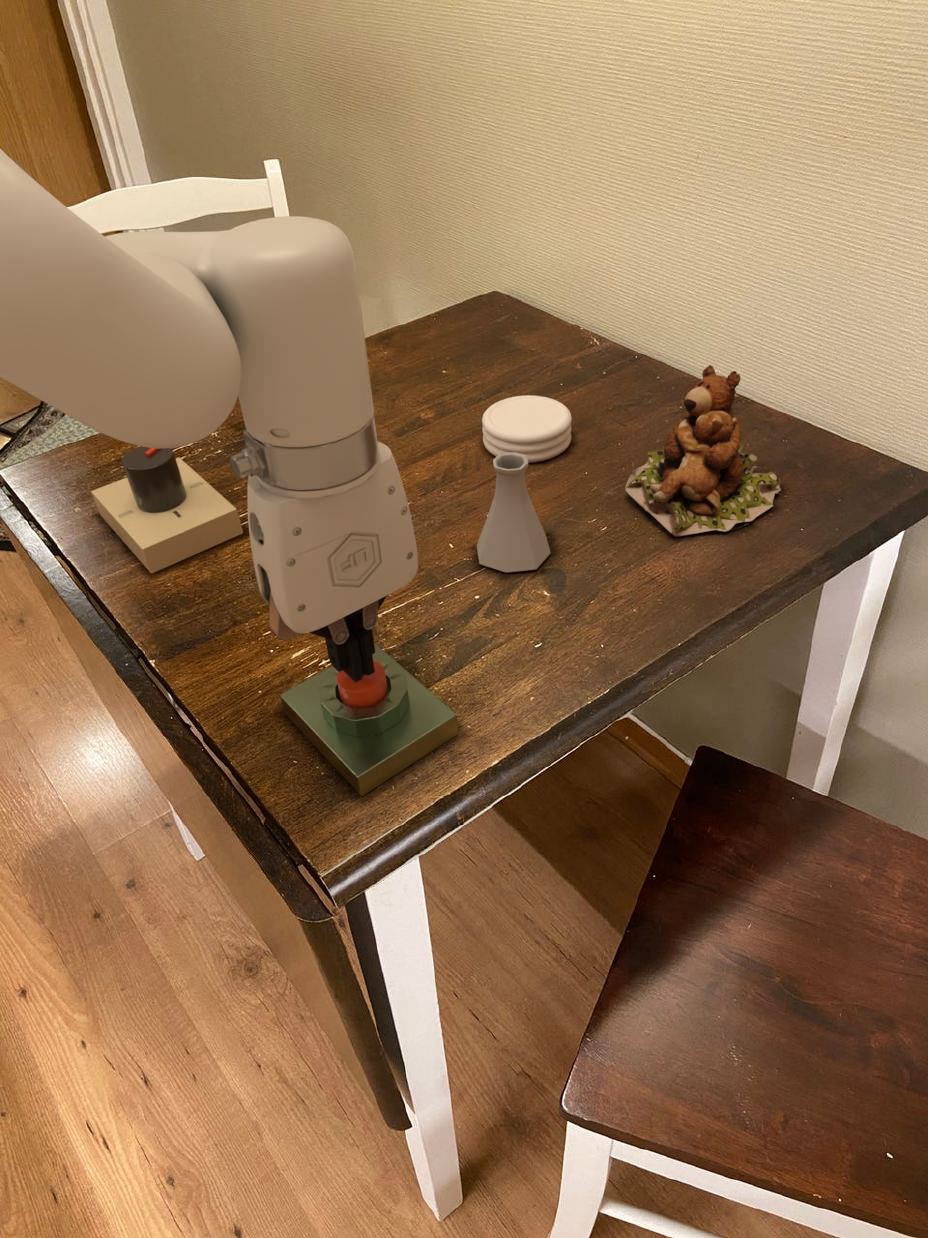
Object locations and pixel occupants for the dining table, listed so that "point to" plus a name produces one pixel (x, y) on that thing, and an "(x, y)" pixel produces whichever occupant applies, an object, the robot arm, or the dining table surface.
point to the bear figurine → (704, 467)
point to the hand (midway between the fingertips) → (354, 667)
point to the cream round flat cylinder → (527, 427)
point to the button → (363, 688)
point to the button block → (370, 724)
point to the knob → (154, 478)
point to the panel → (169, 521)
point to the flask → (512, 521)
